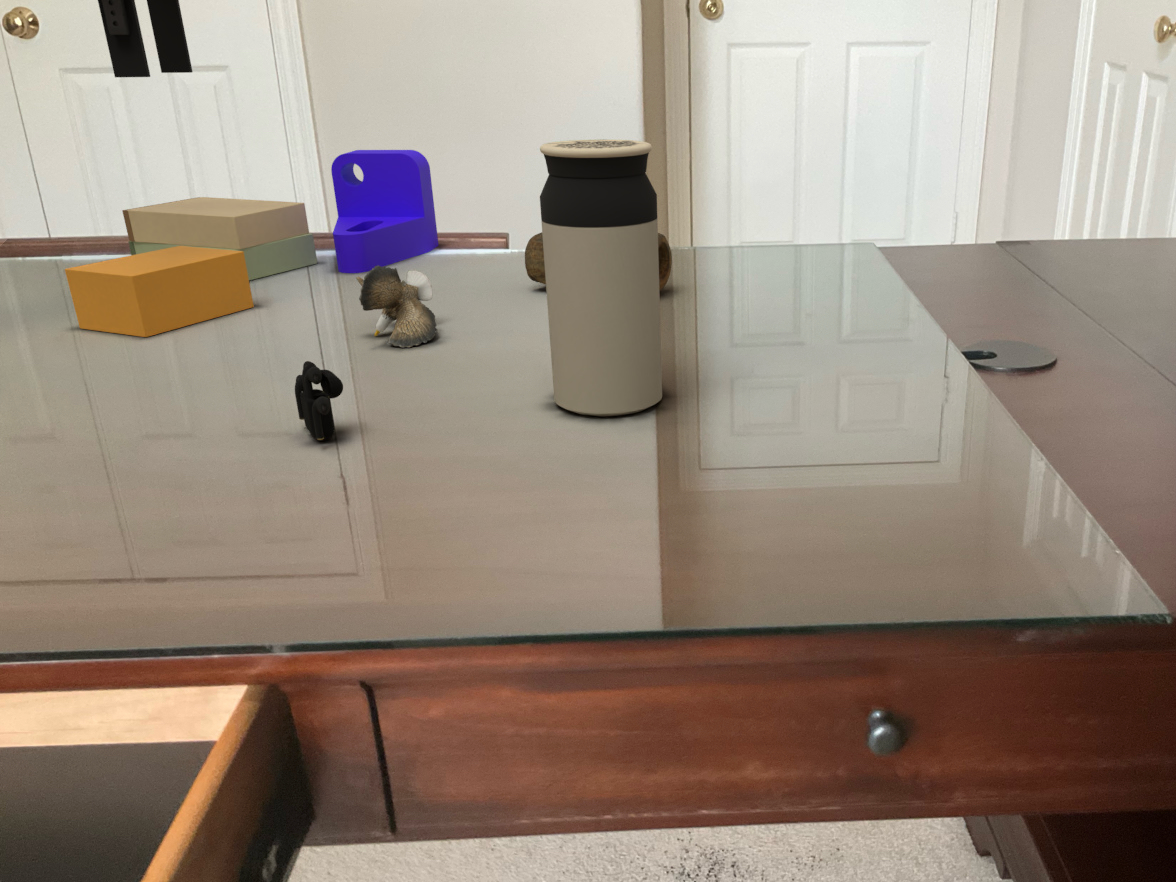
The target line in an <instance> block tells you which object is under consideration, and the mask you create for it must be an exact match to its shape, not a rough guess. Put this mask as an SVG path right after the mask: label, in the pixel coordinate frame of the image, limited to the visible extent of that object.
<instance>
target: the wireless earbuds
mask: <svg viewBox="0 0 1176 882" xmlns="http://www.w3.org/2000/svg"><path fill="white" fill-rule="evenodd" d="M313 385H316V386H317V385H320V387H321V389H318V388H314V387H313ZM343 391H344V384H343V382H342V380H341V379H340V378H339V376H337V375H336V374H335V373H334V372H333V371H331V370H329V369H321V368H319V366H317V365H316V364H315V363H314V362H312V361H309V360H306V361H305V362H303V365H302V373H301V374H298V375H297V376H296V377H295V383H294V396H295V402H296V407H297V412H298V419H299V420H300V421H304V425H305V428H306V429H307V431H308V432H309V433H310V434H311V435H312V436H313V438H315V440H318V441H321V442H325V441H329V440H330V439H332V438H333V436H334V435H335V431H336V429H335V422H334V415H333V409H332V403H331V399H336V398H338V397H339V396H341V395H342V394H343Z"/></svg>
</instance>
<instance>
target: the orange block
mask: <svg viewBox="0 0 1176 882" xmlns="http://www.w3.org/2000/svg"><path fill="white" fill-rule="evenodd" d="M64 273H65V277H66V281H67V284H68V288H69V292H70V296H71V300H72V303H73V307H74V311H75V316H76V318H77V323H78V327H79V329H80V330H81V329H82V330H89V331H97V332H103V333H112V334H119V335H127V336H134V337H142V338H148V337H152V336H156V335H159V334H163V333H166V332H170V331H173V330H177V329H180V328H181V329H182V328H183V327H188V326H191V325H194V324H198V323H201V322H206V321H209V320H212V319H217V318H220V317H223V316H226V315H230V314H234V313H237V312H241V311H245V310H248V309H252V308H254V307H255V306H254V300H253V295H252V290H251V284H250V280H249V278H248V273H247V267H246V262H245V257H244V252H243V251H233V250H222V249H211V248H200V247H189V246H176V247H171V248H166V249H161V250H156V251H151V252H146V253H141V254H136V255H131V254H130V255H126V256H121V257H118V258H112V259H107V260H102V261H96V262H93V263H86V264H82V265H77V266H72V267H67V268H64Z"/></svg>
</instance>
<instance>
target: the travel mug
mask: <svg viewBox="0 0 1176 882" xmlns="http://www.w3.org/2000/svg"><path fill="white" fill-rule="evenodd" d="M652 146H653V145H652V144H651V143H649V142H646V141H643V140H633V139H632V140H630V139H605V138H603V139H601V138H600V139H573V140H560V141H551V142H546V143H543V144H541V145H540V147H539V151H540V153H541V154H542V155H543V157H544V160H545V164H546V169H547V174H548V176H547V178H546V180H545V183H544V185H543V188H542V190H541V191H540V192H541V193H540V195H539V205H540V206H539V207H540V218H541V219H540V221H541V232H542V235H543V249H544V263H545V277H546V285H545V290H546V302H547V303H546V305H547V317H548V318H547V319H548V330H549V332H548V333H549V344H550V345H549V346H550V360H551V373H552V385H553V386H552V387H553V401H554V402H555V404H556V405H557V406H559V407H561V408H562V409H565V410H566V411H569V412H572V413H576V414H579V415H584V416H593V417H617V416H624V415H630V414H636V413H639V412H643V411H645V410H646V409H649V408H651V407H652V406H654V405H656V404H657V403H659V402H660V401H661V400H662V398H663V372H662V371H663V370H662V369H663V368H662V337H661V336H662V334H661V333H662V332H661V330H662V329H661V298H660V297H661V296H660V291H659V257H658V233H659V228H658V227H659V226H658V225H659V224H658V221H659V220H658V195H657V192H656V190H655V188H654V186H653V185H652V182H651V180H650V179H649V176H648V175H647V168H648V159H649V154H650V153H651V152H652V150H653V147H652Z"/></svg>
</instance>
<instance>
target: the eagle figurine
mask: <svg viewBox="0 0 1176 882" xmlns="http://www.w3.org/2000/svg"><path fill="white" fill-rule="evenodd" d="M355 279H356V281H357V282H358V283H359V284H360V286H361V288H360V295H359V298H358V299H359V302H360V305H361V306H362V310H363V311H366V312H368V311H373V310H382V311H381V314H380V316H379V317H378V321H377V322H376V325H375V331H374V334H373V336H374V337H377V336H378V335H379V334H381V333H383V332H385V331H386V330H387V328H388V326H390V324H392V322H394V321H395V325H394V329H393V331H392V333H391V335H390V336H389V338H388V341H387V343H388V344H392V345H393V346H394V347H399V348H402V349H405V348H412V347H414V346H420V345H421V344H422V343H423V344H427V343H428V341H432V340H433V338H434V337H435V336H436V334H437V330H438V329H437V323H436V315H435V314H434V312H433V311H432V310H431V309H430V308H429V307H427V306H426V305H425V304H423V303H422V301H423V302H428V301H431V300H432V299H433V294H434V293H433V285H432V283H431V281H430V278H429V277H428V276H426V274H424V273H422V272H420V271H417V270H415V269H409V270H408V271H407V273H406V276H405V280H401V278H400V275H399V272H398V269H397V267H394V268H393V267H386V266H383V267H381V266H378V265H377V266H375V267H374V268H372V270H370V271H368V272H366V275H365V276H364V277H363V278H362V277H360V276H356V277H355Z"/></svg>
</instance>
